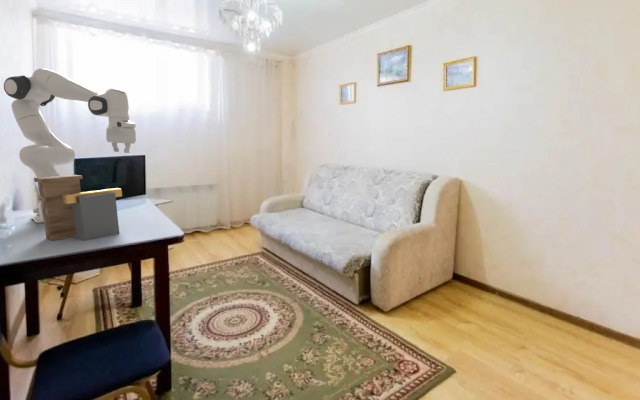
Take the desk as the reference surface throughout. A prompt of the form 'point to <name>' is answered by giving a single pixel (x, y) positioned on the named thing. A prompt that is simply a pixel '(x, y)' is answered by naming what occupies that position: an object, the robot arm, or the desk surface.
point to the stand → (58, 204)
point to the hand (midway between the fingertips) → (121, 152)
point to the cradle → (95, 216)
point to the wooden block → (75, 196)
